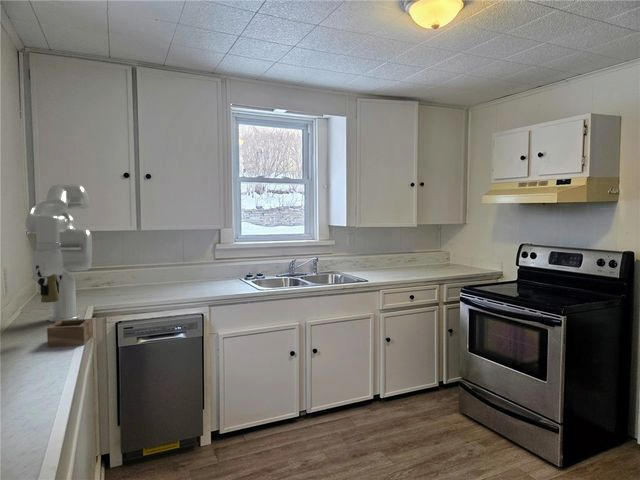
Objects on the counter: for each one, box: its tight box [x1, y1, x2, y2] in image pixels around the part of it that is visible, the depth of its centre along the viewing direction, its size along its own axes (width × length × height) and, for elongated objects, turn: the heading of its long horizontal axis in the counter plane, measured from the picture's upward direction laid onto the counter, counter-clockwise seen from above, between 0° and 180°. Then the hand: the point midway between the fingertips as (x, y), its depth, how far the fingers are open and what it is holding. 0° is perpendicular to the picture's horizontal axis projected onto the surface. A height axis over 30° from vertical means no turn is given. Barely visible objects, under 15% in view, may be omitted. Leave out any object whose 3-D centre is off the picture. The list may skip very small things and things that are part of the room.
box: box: [46, 318, 94, 348], centre depth 165 cm, size 12×12×7 cm
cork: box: [40, 274, 59, 304], centre depth 168 cm, size 6×6×11 cm
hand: (49, 293), depth 168 cm, fingers closed on cork, 4 cm apart
